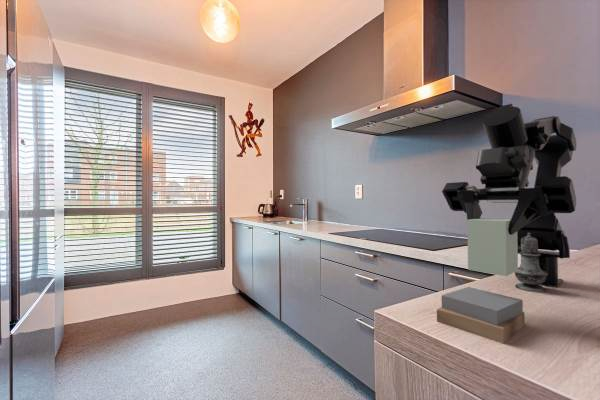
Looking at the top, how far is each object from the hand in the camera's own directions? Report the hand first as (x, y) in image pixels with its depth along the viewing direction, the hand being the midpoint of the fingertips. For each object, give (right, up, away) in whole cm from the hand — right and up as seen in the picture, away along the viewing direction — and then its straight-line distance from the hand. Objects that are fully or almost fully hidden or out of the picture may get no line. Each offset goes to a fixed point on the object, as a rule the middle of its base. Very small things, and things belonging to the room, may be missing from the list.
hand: (488, 231), depth 47 cm
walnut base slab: (-3, -15, -3) cm, 15 cm away
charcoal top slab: (-3, -12, -3) cm, 13 cm away
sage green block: (+1, -7, +1) cm, 7 cm away
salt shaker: (+18, -14, +14) cm, 27 cm away
